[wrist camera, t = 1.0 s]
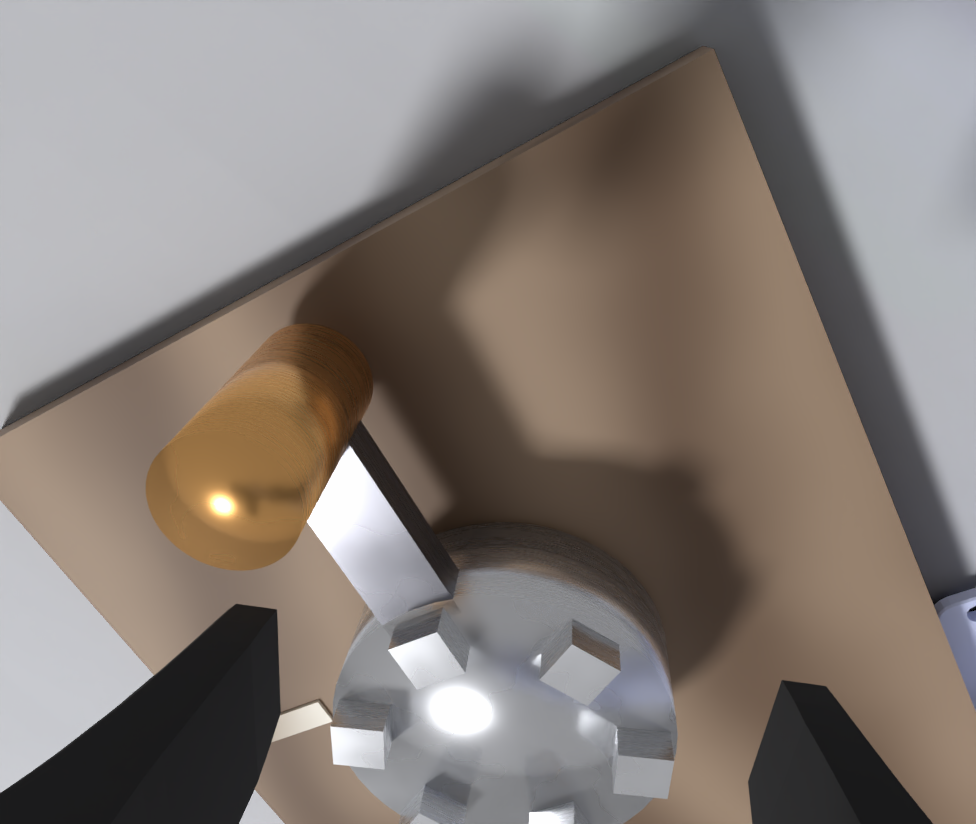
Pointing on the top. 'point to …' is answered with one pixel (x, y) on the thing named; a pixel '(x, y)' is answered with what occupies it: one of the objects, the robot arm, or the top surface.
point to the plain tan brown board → (557, 450)
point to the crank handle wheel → (430, 607)
